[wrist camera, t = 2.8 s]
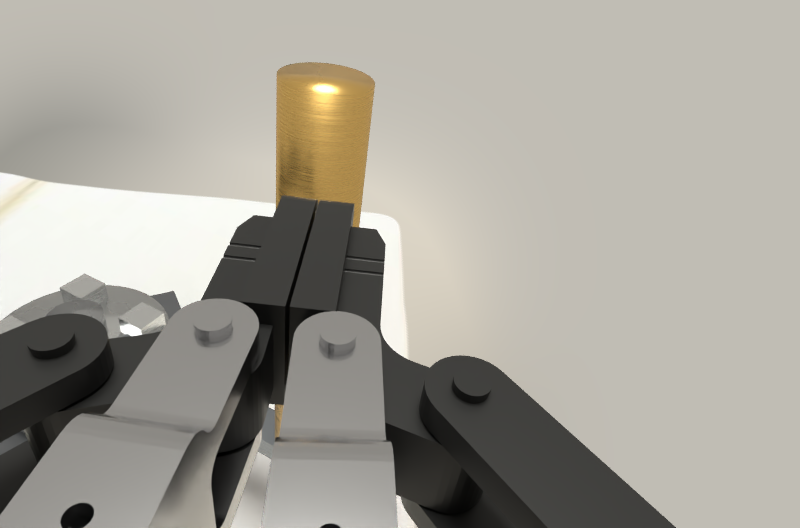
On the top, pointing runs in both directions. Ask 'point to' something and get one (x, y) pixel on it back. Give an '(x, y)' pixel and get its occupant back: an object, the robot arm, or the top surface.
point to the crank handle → (295, 176)
